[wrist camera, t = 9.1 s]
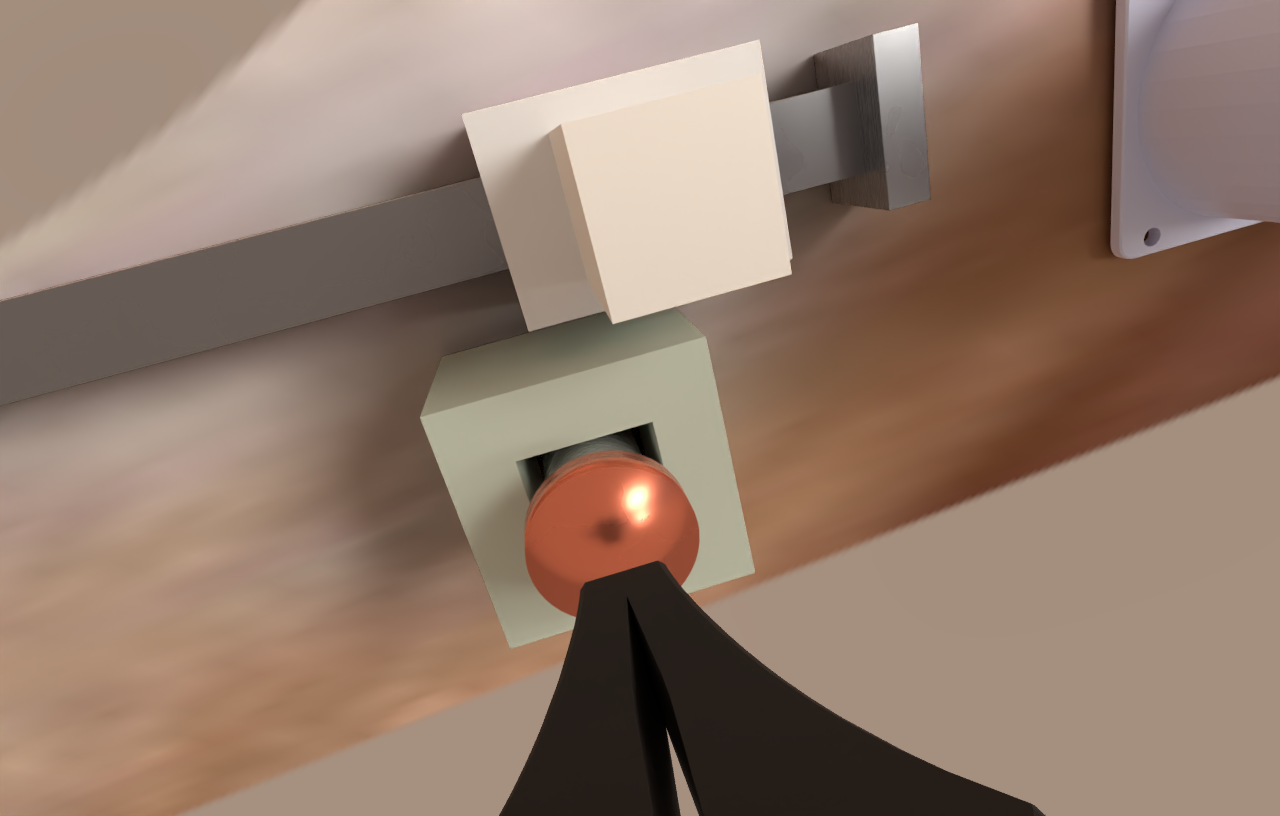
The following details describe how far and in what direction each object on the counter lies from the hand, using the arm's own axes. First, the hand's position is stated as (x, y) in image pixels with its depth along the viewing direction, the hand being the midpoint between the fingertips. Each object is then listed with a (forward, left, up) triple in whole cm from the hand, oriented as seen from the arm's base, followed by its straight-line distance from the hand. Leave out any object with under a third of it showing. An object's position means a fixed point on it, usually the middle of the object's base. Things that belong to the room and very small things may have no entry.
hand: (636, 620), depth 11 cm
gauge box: (0, 0, -9) cm, 9 cm away
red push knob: (0, 0, -8) cm, 8 cm away
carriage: (-2, -6, -9) cm, 11 cm away
